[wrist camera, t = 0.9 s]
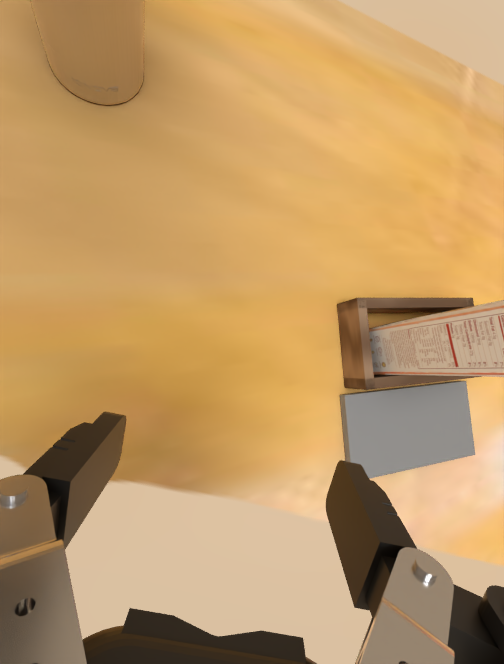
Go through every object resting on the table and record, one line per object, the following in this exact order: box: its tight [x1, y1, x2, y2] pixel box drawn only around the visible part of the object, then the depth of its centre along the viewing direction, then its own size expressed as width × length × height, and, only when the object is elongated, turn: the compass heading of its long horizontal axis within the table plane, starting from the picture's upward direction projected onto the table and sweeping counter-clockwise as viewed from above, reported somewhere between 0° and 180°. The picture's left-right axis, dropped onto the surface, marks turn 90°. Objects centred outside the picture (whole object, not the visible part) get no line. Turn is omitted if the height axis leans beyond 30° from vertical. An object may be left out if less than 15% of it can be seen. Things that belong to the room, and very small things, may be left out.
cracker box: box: [369, 300, 504, 377], centre depth 33 cm, size 14×6×21 cm, turn 102°
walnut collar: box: [337, 298, 482, 390], centre depth 41 cm, size 10×18×4 cm, turn 94°
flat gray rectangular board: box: [340, 381, 475, 478], centre depth 42 cm, size 10×20×1 cm, turn 94°
